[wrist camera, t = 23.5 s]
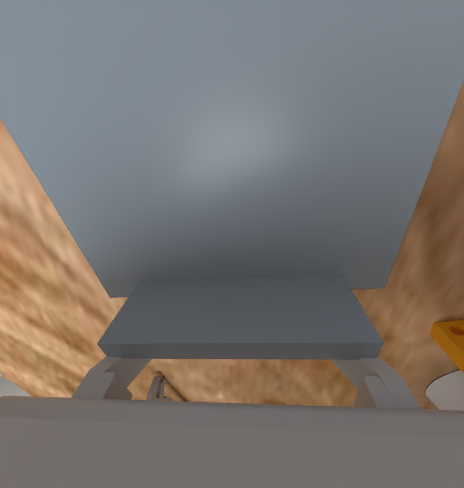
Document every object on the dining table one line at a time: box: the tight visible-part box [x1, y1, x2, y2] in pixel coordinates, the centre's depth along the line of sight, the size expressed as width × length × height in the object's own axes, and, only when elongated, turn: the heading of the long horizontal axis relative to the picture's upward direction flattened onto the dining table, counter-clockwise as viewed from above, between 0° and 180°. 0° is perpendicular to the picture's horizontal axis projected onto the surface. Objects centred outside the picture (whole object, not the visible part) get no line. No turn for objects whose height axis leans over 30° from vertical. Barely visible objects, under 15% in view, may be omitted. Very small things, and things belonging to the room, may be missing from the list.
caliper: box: [146, 376, 172, 401], centre depth 41 cm, size 20×1×6 cm, turn 17°
